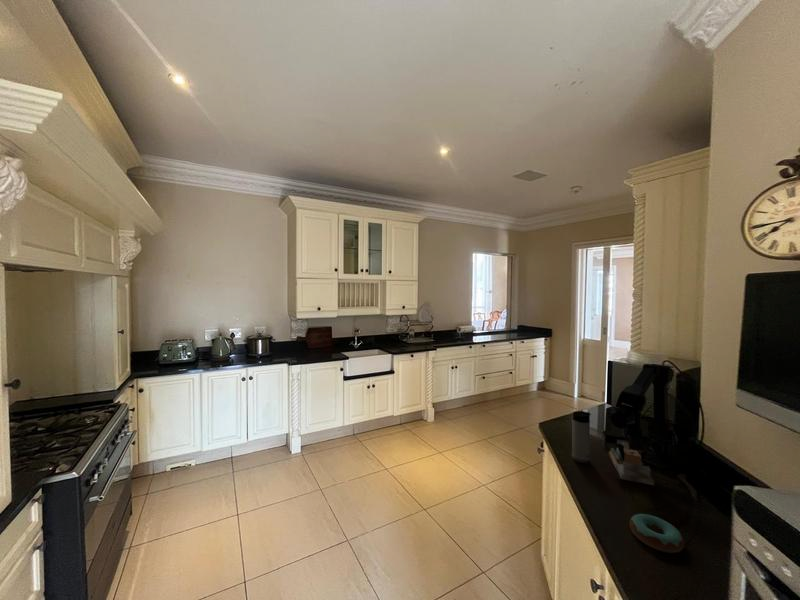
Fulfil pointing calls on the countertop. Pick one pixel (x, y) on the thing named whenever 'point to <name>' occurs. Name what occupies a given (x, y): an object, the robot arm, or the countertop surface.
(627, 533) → the countertop surface
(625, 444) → the ram
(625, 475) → the frame
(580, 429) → the travel mug
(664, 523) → the donut
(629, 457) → the box
